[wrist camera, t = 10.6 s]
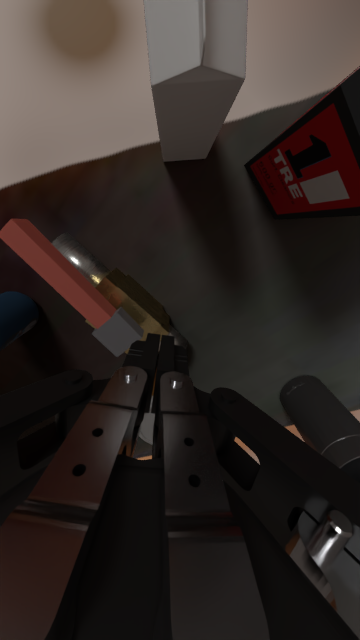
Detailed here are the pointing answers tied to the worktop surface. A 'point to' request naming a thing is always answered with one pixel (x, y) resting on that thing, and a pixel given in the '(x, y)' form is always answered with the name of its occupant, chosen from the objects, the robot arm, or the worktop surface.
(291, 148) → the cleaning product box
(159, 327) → the pipe valve
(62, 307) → the worktop surface
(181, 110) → the milk
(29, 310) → the soda can
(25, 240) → the lever
